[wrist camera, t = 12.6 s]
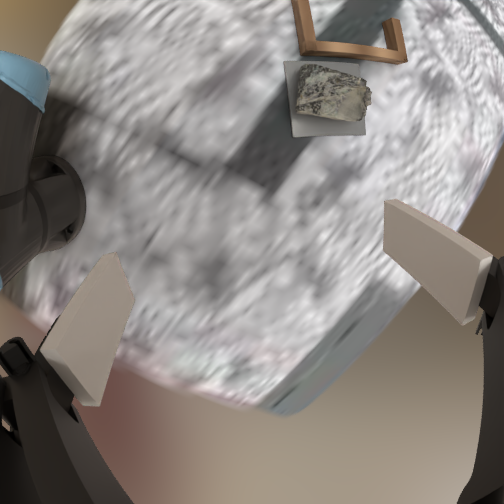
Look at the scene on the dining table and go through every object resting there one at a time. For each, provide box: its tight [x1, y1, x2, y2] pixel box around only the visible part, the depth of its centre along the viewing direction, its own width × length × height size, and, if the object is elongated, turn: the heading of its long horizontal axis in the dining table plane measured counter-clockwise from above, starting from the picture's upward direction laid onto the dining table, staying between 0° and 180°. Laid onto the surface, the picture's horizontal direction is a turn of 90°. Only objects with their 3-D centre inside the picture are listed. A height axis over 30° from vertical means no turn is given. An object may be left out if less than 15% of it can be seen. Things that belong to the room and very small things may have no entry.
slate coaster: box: [284, 61, 366, 137], centre depth 33 cm, size 11×11×1 cm
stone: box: [296, 64, 372, 121], centre depth 30 cm, size 10×10×10 cm
